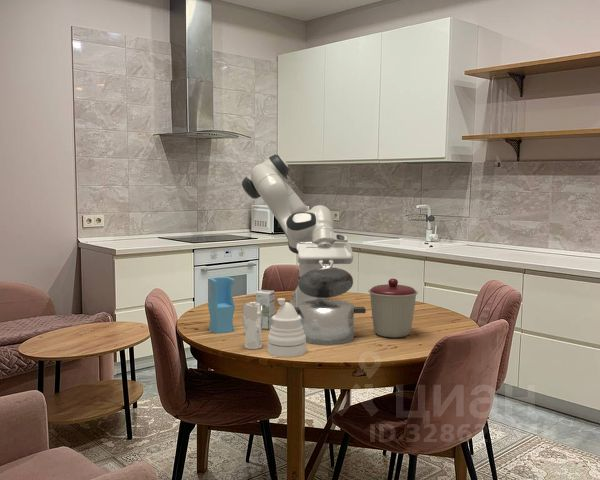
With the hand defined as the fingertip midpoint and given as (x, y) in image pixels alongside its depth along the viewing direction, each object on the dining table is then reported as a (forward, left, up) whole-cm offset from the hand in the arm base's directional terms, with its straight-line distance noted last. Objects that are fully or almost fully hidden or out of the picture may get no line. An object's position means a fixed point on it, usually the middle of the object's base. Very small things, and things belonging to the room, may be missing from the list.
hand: (326, 271), depth 211 cm
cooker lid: (-4, +1, -5) cm, 7 cm away
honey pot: (+12, -17, -25) cm, 33 cm away
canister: (0, +26, -25) cm, 35 cm away
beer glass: (+4, -27, -25) cm, 37 cm away
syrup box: (-21, -18, -25) cm, 37 cm away
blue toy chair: (-21, -35, -25) cm, 48 cm away
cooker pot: (-2, +1, -24) cm, 24 cm away
